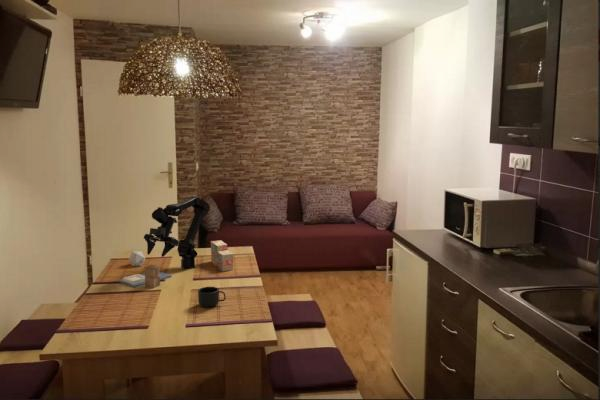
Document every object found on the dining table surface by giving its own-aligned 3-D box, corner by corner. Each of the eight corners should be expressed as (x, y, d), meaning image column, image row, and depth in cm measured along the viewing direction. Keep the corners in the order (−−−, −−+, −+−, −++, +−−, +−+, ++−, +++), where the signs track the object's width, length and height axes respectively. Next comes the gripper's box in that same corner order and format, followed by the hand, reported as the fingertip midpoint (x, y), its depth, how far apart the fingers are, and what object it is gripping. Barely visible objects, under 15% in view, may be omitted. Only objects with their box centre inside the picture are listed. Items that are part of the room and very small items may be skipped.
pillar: (151, 284, 253) (150, 264, 251) (160, 285, 251) (159, 265, 249) (145, 287, 248) (144, 267, 246) (154, 288, 246) (153, 268, 245)
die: (138, 269, 279) (147, 254, 282) (124, 261, 278) (133, 246, 281) (140, 270, 287) (149, 255, 289) (126, 263, 286) (135, 248, 289)
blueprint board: (155, 271, 273) (155, 267, 272) (171, 276, 264) (171, 272, 263) (118, 281, 256) (118, 277, 255) (134, 287, 247) (134, 282, 247)
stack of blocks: (233, 270, 277) (233, 248, 275) (222, 271, 274) (221, 249, 272) (221, 260, 296) (221, 239, 294) (211, 261, 293) (210, 240, 291)
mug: (196, 309, 220) (196, 293, 219) (200, 301, 229) (199, 286, 228) (224, 308, 220) (224, 293, 219) (227, 301, 229) (226, 286, 228)
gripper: (142, 219, 259) (131, 247, 253) (171, 222, 251) (160, 251, 245) (155, 228, 268) (144, 255, 263) (183, 231, 260) (173, 259, 254)
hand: (155, 255), depth 256 cm, fingers open, 9 cm apart
